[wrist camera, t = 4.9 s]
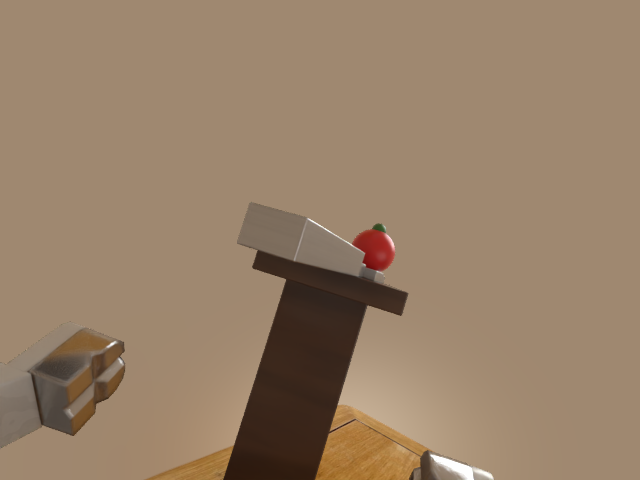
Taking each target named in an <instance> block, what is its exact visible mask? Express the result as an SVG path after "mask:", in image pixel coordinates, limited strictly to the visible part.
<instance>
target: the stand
mask: <svg viewBox="0 0 640 480" xmlns="http://www.w3.org/2000/svg"><path fill="white" fill-rule="evenodd" d="M252 267H253V269H257V270H259V271H262V272H266V273H269V274H272V275H275V276H278V277H281V278H285V279H286V282H285V285H284V289H283V292H282V295H281V298H280V302H279V304H278V308H277V311H276V314H275V317H274V321H273V324H272V327H271V330H270V333H269V336H268V340H267V343H266V346H265V349H264V353H263V355H262V358H261V362H260V365H259V368H258V371H257V374H256V378H255V381H254V384H253V387H252V390H251V393H250V397H249V400H248V403H247V406H246V409H245V412H244V416H243V419H242V422H241V425H240V428H239V432H238V435H237V438H236V441H235V444H234V447H233V451H232V454H231V457H230V460H229V463H228V466H227V470H226V473H225V476H224V479H223V480H315V478H316V474H317V471H318V468H319V465H320V461H321V458H322V455H323V451H324V448H325V445H326V441H327V438H328V435H329V431H330V428H331V425H332V421H333V418H334V415H335V411H336V408H337V405H338V401H339V398H340V395H341V392H342V388H343V385H344V382H345V378H346V375H347V372H348V368H349V365H350V362H351V358H352V355H353V352H354V348H355V345H356V342H357V338H358V335H359V332H360V328H361V325H362V322H363V318H364V315H365V312H366V309H367V305H369V306H372V307H375V308H378V309H381V310H384V311H387V312H391V313H394V314H397V315H400V316H401V315H402V313H403V310H404V307H405V303H406V300H407V297H408V293H407V292H405V291H402V290H400V289H397V288H395V287H392V286H390V285H387V284H384V283H379V282H375V281H371V280H368V279H365V278H362V277H356V276H351V275H347V274H343V273H339V272H335V271H330V270H326V269H322V268H318V267H314V266H310V265H305V264H301V263H297V262H293V261H290V260H287V259H284V258H280V257H277V256H274V255H271V254H268V253H265V252H262V251H259V250H258V251H257V254H256V257H255V260H254V263H253V266H252Z"/></svg>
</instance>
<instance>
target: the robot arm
mask: <svg viewBox="0 0 640 480" xmlns="http://www.w3.org/2000/svg"><path fill="white" fill-rule="evenodd" d="M124 351H125V350H124V342H122V341H120V340H117V339H115V338H112V337H109V336H107V335H104V334H102V333H99V332H96V331H94V330H91V329H89V328H86V327H84V326H81V325H78V324H75V323H73V322H67V323H64V324H62V325H60V326H59V327H57V328H56V329H55V330H53V331H52V332H51V333H49V334H48V335H46V336H45V337H43V338H42V339H41V340H39V341H38V342H36V343H35V344H34V345H33V346H31V347H30V348H28V349H27V350H25V351H24V352H23V353H21V354H20V355H18V356H17V357H16V358H14V359H13V360H11V361H10V362H9V363H7V364H4V363H0V448H2V447H4V446H6V445H8V444H10V443H12V442H14V441H16V440H18V439H20V438H22V437H23V436H25V435H27V434H29V433H31V432H33V431H35V430H37V429H39V428H41V427H42V425H44V426H46V427H49V428H52V429H55V430H58V431H61V432H64V433H66V434H69V435H72V436H74V435H75V434H76V433H77V432H78V431H79V430H80V429H81V427H83V425H84V424H85V423H86V422H87V421H88V420H89V419H90V418H91V417H92V416H93V415H94V413H95V409H96V404H97V403H99V402H101V401H104V400H106V399H108V398H109V397H110V396H111V395H112V394H113V393H114V392H115V390H116V389H117V387H118V386H119V384H120V382H121V381H122V379H123V376H124V372H125V363H124V361H123V360H122V358H121V357H120V355H121V354H122V353H123V352H124ZM420 463H421V467H418V468H415V469H414V470H413V472H412V474H411V475H410V477H409V480H494V478H493V476H492V474H491V473H490V472H488V471H485V470H482V469H479V468H476V467H473V466H470V465H468V464H467V463H464V462H461V461H458V460H455V459H452V458H449V457H446V456H443V455H440V454H438V453H435V452H432V451H429V450H427V451H425V452H424V453H423V455H422V456H421V458H420Z"/></svg>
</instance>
